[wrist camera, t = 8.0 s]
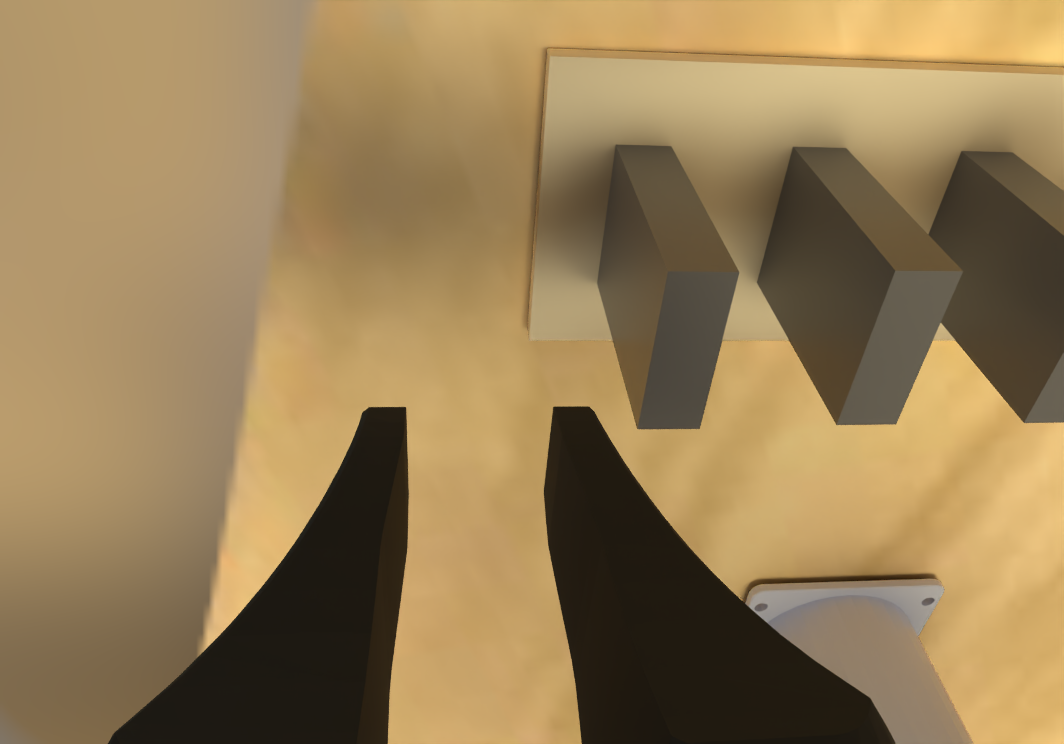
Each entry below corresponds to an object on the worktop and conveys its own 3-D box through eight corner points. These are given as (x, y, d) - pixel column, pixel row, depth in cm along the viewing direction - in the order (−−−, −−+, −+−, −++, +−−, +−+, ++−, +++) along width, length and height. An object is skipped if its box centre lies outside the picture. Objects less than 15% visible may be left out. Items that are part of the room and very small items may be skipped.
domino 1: (646, 284, 23) (699, 428, 18) (597, 283, 23) (637, 429, 18) (671, 145, 21) (739, 272, 16) (615, 144, 20) (667, 271, 16)
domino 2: (804, 283, 23) (895, 424, 19) (756, 282, 23) (836, 425, 19) (846, 148, 21) (963, 271, 16) (793, 146, 21) (894, 270, 16)
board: (1375, 329, 27) (1392, 340, 27) (527, 328, 24) (529, 340, 24) (1578, 86, 22) (1602, 94, 22) (547, 47, 19) (549, 56, 19)
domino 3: (954, 284, 24) (1080, 422, 19) (908, 283, 24) (1024, 422, 19) (1012, 151, 22) (1172, 272, 17) (961, 150, 21) (1108, 272, 17)
